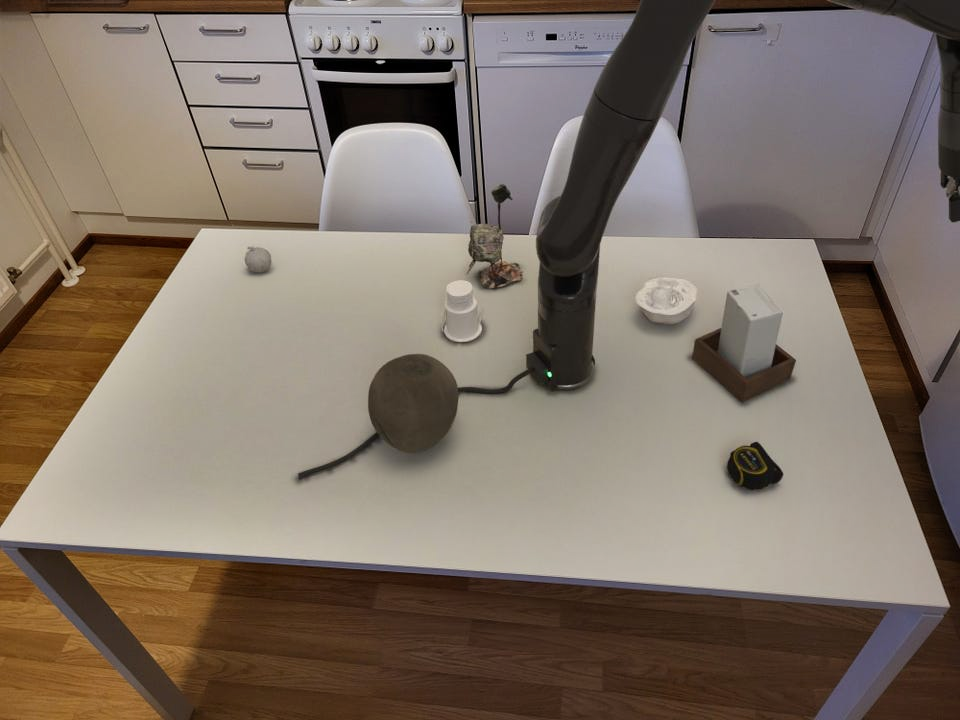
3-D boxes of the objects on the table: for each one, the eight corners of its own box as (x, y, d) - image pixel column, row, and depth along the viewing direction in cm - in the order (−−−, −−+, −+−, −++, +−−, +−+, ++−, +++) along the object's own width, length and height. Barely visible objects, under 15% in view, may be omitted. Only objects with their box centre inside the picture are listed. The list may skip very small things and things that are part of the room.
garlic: (241, 268, 161) (235, 247, 158) (264, 257, 164) (258, 236, 160) (256, 280, 158) (250, 259, 155) (279, 268, 161) (273, 248, 157)
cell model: (707, 316, 143) (713, 287, 138) (659, 342, 138) (664, 313, 133) (668, 289, 149) (672, 260, 144) (621, 314, 144) (624, 285, 140)
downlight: (477, 314, 147) (474, 271, 140) (489, 337, 142) (487, 294, 135) (437, 324, 145) (432, 282, 138) (448, 347, 140) (443, 305, 133)
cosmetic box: (768, 381, 130) (787, 313, 119) (734, 388, 129) (751, 321, 119) (744, 349, 136) (761, 282, 125) (712, 355, 135) (726, 288, 125)
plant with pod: (468, 265, 158) (461, 179, 144) (523, 264, 157) (521, 177, 143) (466, 290, 152) (458, 202, 138) (523, 289, 151) (521, 201, 138)
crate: (741, 403, 126) (747, 383, 123) (691, 358, 135) (695, 339, 132) (790, 379, 130) (796, 359, 127) (738, 337, 138) (742, 317, 135)
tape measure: (781, 486, 114) (787, 470, 111) (741, 499, 113) (745, 483, 110) (756, 453, 119) (760, 437, 116) (716, 465, 117) (720, 449, 115)
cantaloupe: (468, 460, 121) (462, 394, 110) (378, 475, 119) (363, 409, 109) (455, 397, 131) (448, 330, 121) (372, 410, 130) (358, 344, 119)
